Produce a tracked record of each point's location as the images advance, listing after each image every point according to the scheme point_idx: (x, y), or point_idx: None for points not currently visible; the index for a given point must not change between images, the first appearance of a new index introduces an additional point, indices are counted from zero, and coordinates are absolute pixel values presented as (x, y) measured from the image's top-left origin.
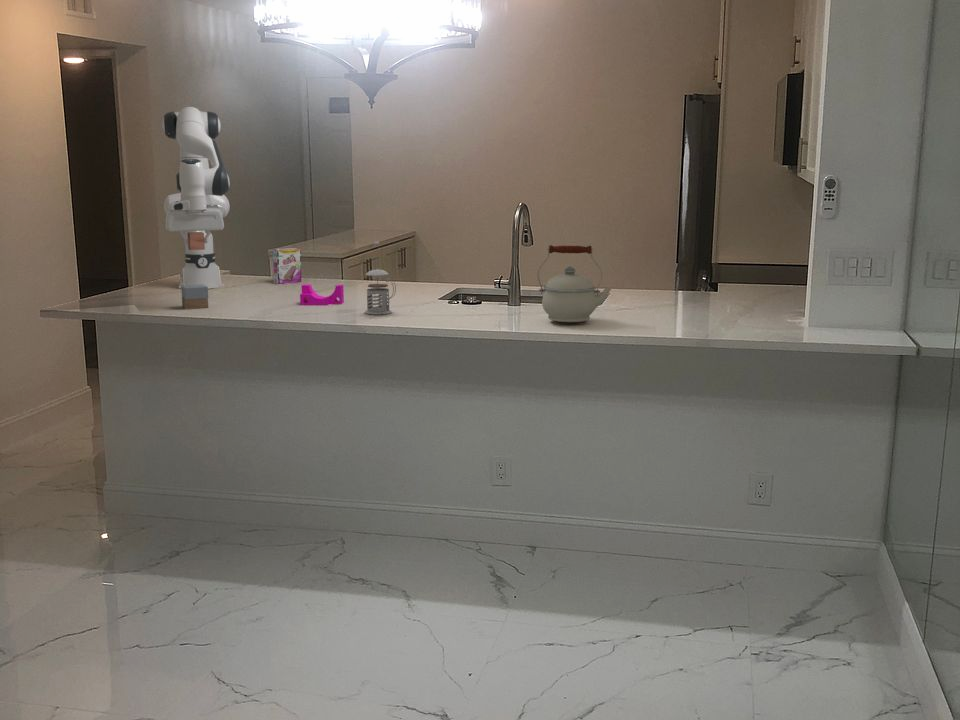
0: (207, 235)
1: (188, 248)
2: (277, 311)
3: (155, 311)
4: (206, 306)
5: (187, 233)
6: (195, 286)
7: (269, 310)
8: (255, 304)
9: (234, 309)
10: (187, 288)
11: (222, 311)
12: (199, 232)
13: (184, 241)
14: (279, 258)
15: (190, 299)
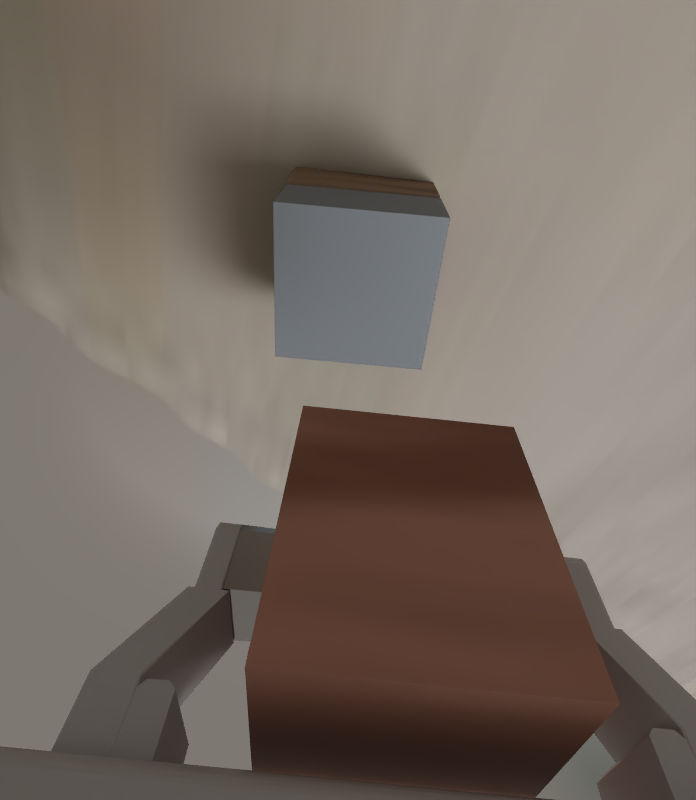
0: (599, 733)
1: (301, 419)
2: (601, 526)
3: (138, 282)
4: None
5: (250, 647)
6: (358, 306)
7: (595, 496)
8: (676, 314)
9: (495, 410)
10: (290, 356)
11: None
12: (513, 744)
13: (210, 545)
14: None
15: None
